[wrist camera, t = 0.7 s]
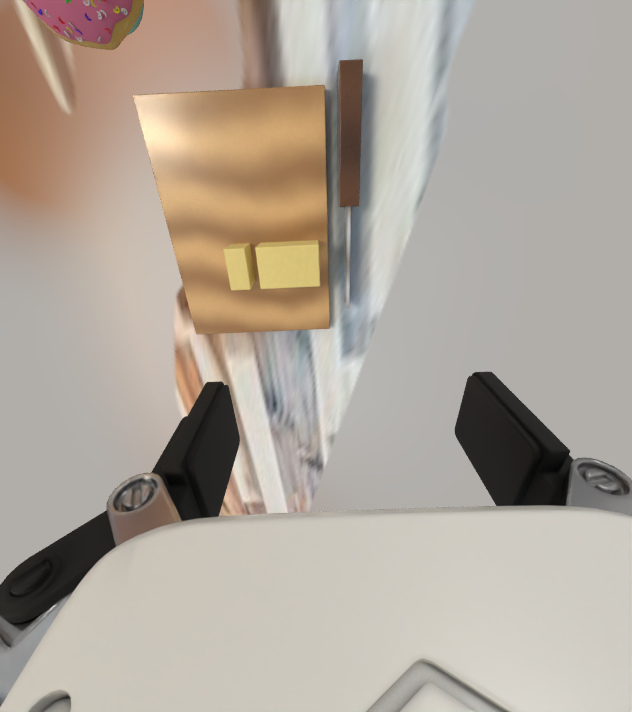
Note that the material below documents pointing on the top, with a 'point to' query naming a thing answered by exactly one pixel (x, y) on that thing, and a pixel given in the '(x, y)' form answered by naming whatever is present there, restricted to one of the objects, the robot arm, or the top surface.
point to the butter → (288, 264)
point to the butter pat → (240, 266)
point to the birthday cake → (90, 20)
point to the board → (241, 196)
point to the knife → (349, 146)
